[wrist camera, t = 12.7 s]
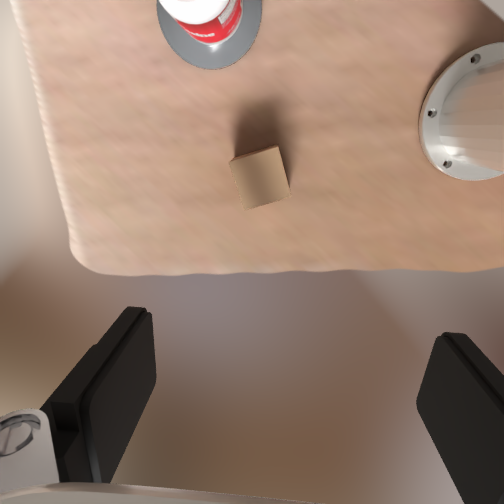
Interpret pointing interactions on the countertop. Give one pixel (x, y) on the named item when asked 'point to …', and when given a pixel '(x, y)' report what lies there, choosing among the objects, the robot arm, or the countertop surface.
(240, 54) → the coaster
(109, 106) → the countertop surface
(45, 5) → the countertop surface
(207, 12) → the pill bottle
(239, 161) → the light brown wooden block
